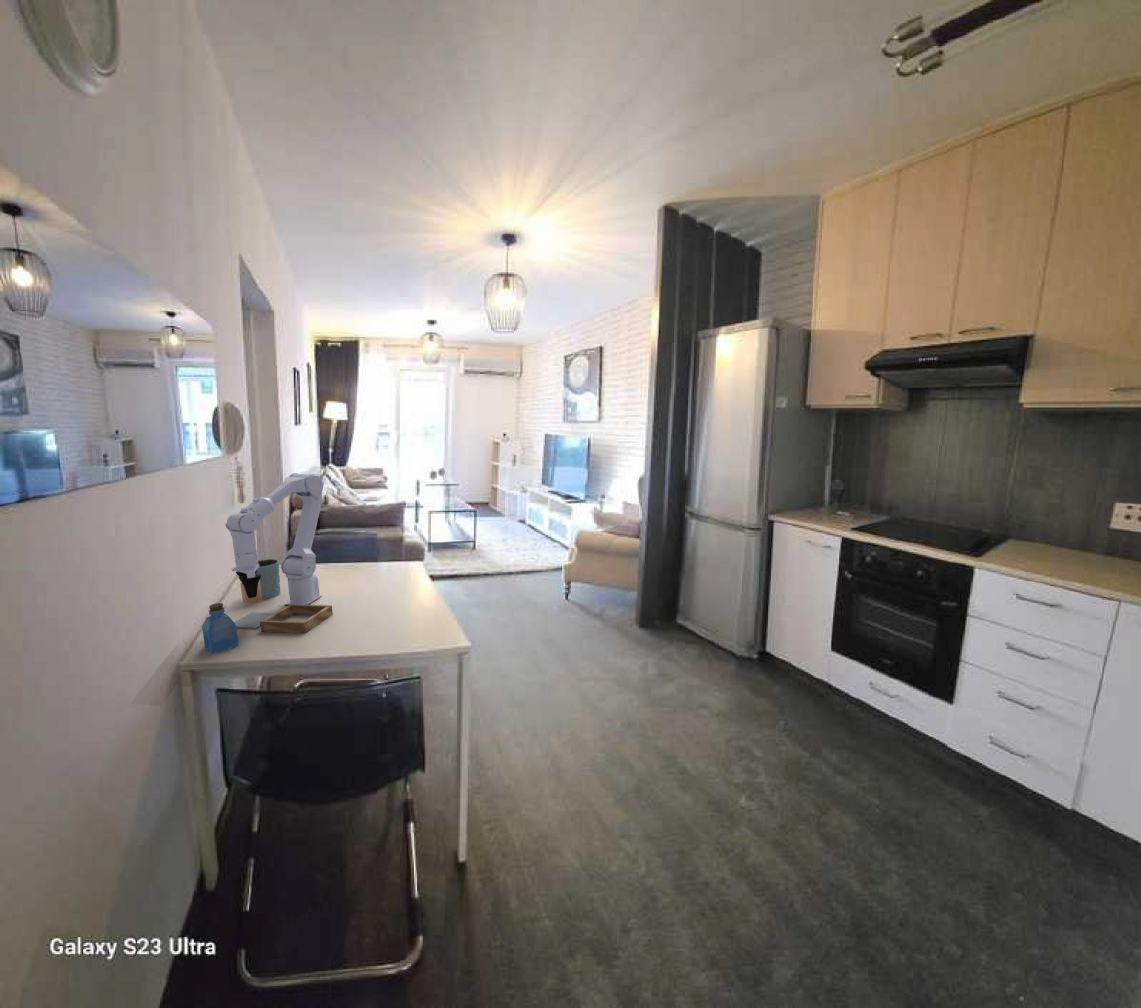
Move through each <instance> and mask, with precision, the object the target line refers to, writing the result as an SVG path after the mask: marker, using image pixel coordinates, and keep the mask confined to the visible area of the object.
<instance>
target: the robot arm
mask: <svg viewBox="0 0 1141 1008" xmlns="http://www.w3.org/2000/svg"><path fill="white" fill-rule="evenodd" d="M324 484H325V483H324V481H323V479H322V478H321V476H320V475H319V474H316V473H297V472H294V473H291V474H290V475H289V476H287V477H285V478H284V481H283V482H281V484H279V486H277V487H276V488H275V489H274V490H273V491H271V492H270V493H269V494H268V495H267V496H265V497H263V496H261V497H259V496H258V497H255V498H253V499H252V502H251V503H249V504H248V505H247V506H246V507H242V508H241V509H240V511H239V512H234V513H232V514H230V515H229V517H228V518H227V520H226V523H225V524H224V526H225V527H226V529H227V531H229V532H230V537H231V539H232V544H233V545H232V546H233V547H232V548H233V553H234V561H235V567H231V571H232V572H235V574H236V575H237V577H238V579H239V581H240V583H243V585H244V588H245V591H246V594H247V596H248V598H253V597H256V596H257V589H258V583H259V580H260V578H261V574H256V573H257V571H258V568H259V564H258V560H259V559H258V552H257V551H258V550H257V543H256V535H255V534H256V533H255V531H256V530H257V529H258V526H259V523H260V522H261V521H262V520H263V519H265V518H266V517H267V516H268V515H270V514H271V513H272V512H273V511H274V509H275V507H274V506H275V505H277V504H278V503H279V502H281V501H283V500H284V499H286V498H287V497H289V496H290V495H292V494H295V495H296V496H297V497H298V498H299V499H301V501H302V503H303V504H302V508H301V512H300V516H299V519H298V520H299V521H298V525H297V528H296V534H295V537H294V542H293V546H292V547H291V548H290V549H289V550H288V551H286V553H285V557H284V558H283V559H282V561H281V564H280V569H281V572H282V573H283V574H284V575H285V578H287V584H288V596H289V600H288V601H287V602H285V603H283V604H284V606H288V605H290V604H301V605H310V604H312V603H313V602H314V601H316V600H318V599H319V598H322V596H323V595H322V594H320V586H319V585H320V584H319V579H318V576H317V575H316V574H315V571H316V570H317V569H316V568H317V565H316V557H317V555H316V554H315V553H314V552H313V550H312V547H313V542H314V538H315V534H316V529H317V525H318V519H319V517H320V512H321V507H322V503H323V490H324Z"/></svg>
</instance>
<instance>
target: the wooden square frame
mask: <svg viewBox="0 0 1141 1008" xmlns="http://www.w3.org/2000/svg"><path fill="white" fill-rule="evenodd" d="M273 613H274V614H273V615H271V616H269V617H267V618H266V619H264V620H262V621H260V627H259V628H260V632H264V633H265V632H267V633H268V632H272V633H299V634H300V633H301V634H302V633H303V634H306V633H307V632H309V631H310V630H313V629H314V628H315V627H316V626H318V625H320V624H321V623H322V622H324V621H325V620H326V619H328V618H329V617H331V616H332V615H333V614H334V612H333V605H332V604H331V605H329V604H308V605H301V604H290V605H286V606H285V607H284V608H282V609H280V610H278V611H277V612H273ZM292 615H297V616H298V615H301V616H302V615H304V616H310V617H309V618H307V619H306V620H303V621H296V620H295V621H294V620H293V621H292V620H287V621H286V620H285V619H288V617H290V616H292Z"/></svg>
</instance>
